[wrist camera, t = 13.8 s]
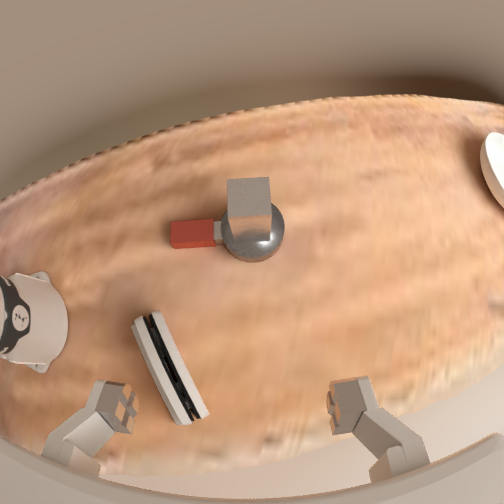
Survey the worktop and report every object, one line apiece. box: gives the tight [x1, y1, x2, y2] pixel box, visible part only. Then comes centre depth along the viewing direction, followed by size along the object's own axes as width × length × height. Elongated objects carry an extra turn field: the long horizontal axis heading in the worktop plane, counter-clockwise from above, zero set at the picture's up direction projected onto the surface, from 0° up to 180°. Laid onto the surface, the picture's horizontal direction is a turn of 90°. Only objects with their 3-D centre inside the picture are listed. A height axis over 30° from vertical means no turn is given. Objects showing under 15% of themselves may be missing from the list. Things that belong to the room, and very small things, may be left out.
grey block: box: [227, 177, 272, 243], centre depth 36 cm, size 5×5×9 cm
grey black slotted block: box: [131, 311, 209, 425], centre depth 34 cm, size 17×5×10 cm, turn 26°
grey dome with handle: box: [170, 203, 284, 262], centre depth 40 cm, size 16×9×8 cm, turn 93°
